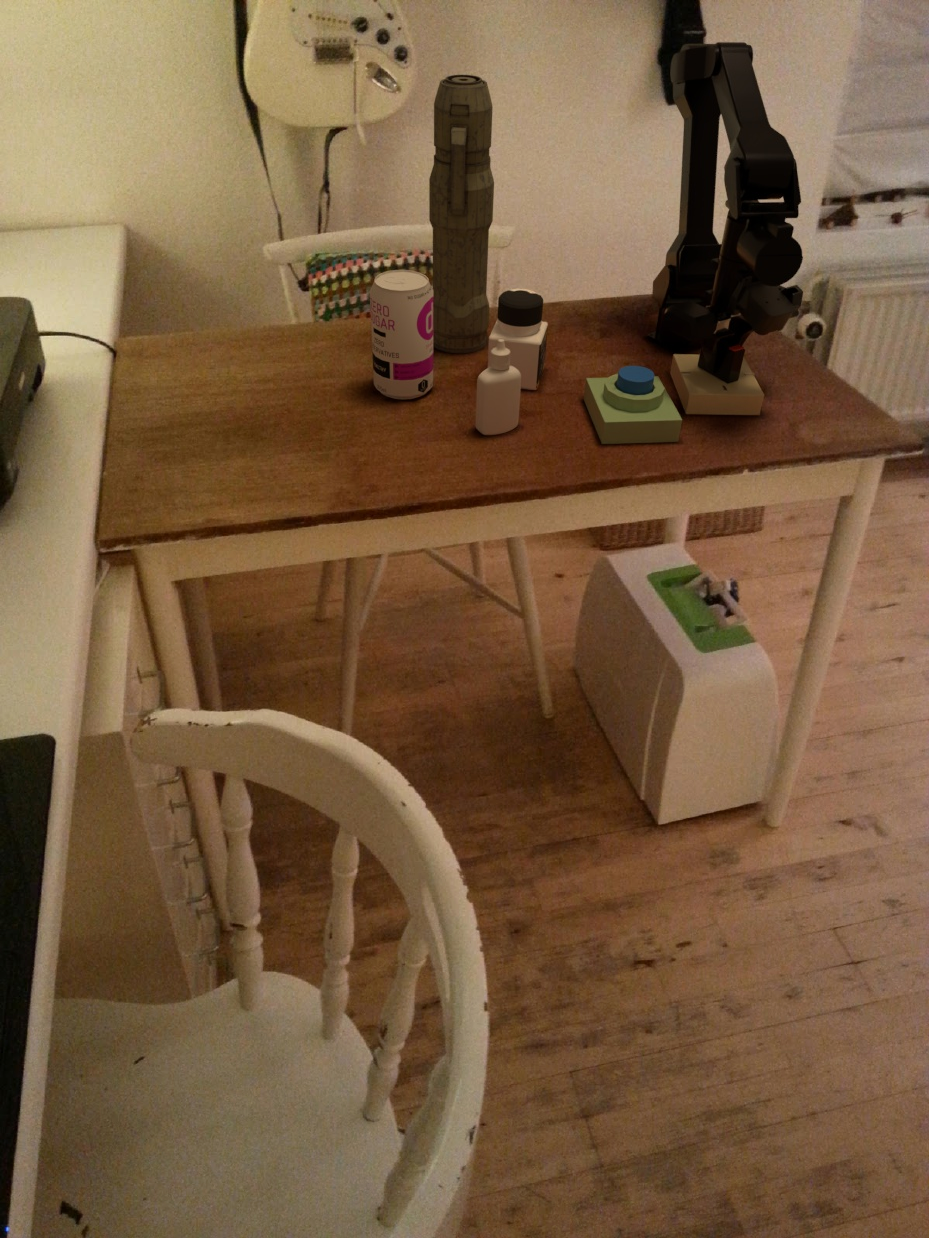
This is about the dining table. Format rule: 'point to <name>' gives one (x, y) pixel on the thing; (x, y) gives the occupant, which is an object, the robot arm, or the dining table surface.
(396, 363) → the supplement can
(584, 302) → the dining table surface
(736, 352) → the dial
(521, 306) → the medicine bottle
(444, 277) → the thermos
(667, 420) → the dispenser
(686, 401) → the console
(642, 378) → the cylinder
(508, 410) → the eye dropper bottle
